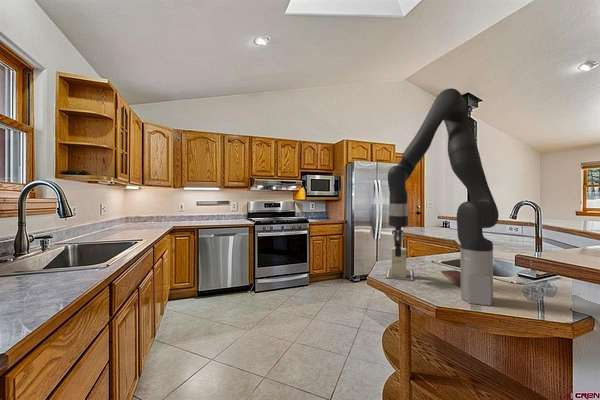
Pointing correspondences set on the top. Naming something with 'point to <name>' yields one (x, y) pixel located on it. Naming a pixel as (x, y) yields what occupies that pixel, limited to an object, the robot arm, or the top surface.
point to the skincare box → (398, 263)
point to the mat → (408, 277)
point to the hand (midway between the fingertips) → (398, 256)
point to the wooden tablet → (453, 276)
